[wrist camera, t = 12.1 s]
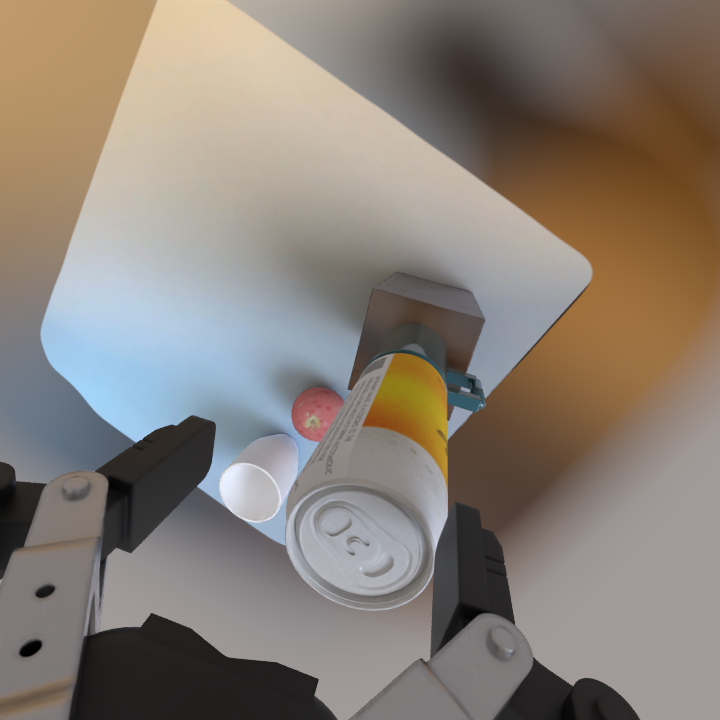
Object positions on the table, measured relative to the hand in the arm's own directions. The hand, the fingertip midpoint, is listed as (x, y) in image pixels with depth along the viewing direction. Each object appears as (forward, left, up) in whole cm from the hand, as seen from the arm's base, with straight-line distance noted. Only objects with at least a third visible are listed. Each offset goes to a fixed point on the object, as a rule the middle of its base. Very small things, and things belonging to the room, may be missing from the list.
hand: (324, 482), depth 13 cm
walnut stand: (+3, +2, -42) cm, 42 cm away
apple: (+19, -8, -43) cm, 47 cm away
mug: (+30, -14, -43) cm, 54 cm away
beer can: (+2, +2, -16) cm, 16 cm away
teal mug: (+3, +3, -24) cm, 25 cm away
